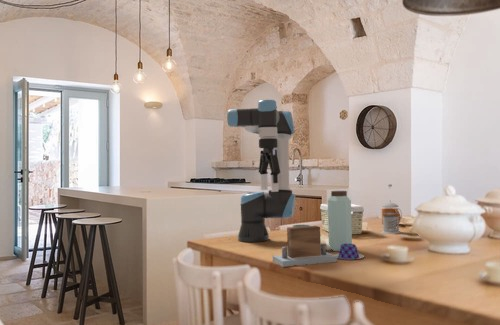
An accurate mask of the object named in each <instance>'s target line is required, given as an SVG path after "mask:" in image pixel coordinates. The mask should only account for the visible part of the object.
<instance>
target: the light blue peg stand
mask: <svg viewBox="0 0 500 325" xmlns="http://www.w3.org/2000/svg"><path fill="white" fill-rule="evenodd" d="M272 262H274V263H276V264H277V265H279V266H280V267H282V268H284V267H295V266H294V265H297V266H305V265H306V264H307V265H315V264H316V265H317V263H318V264H325V263H326V264H327V263H328V264H329V263H336V262H338V258H337V256H335V254H332V253H331V252H328V251H327V244H326V243H321V256H310V257H299V258H290V257H288V248H287V246H282V247H281V254H277V255H272Z"/></svg>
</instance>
